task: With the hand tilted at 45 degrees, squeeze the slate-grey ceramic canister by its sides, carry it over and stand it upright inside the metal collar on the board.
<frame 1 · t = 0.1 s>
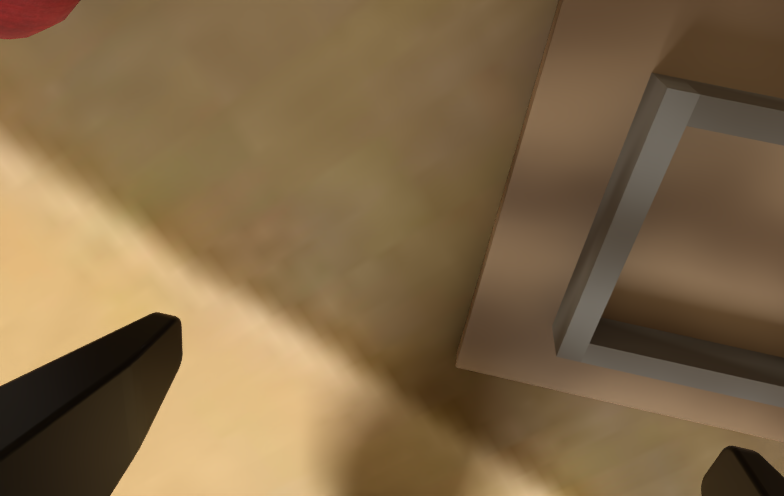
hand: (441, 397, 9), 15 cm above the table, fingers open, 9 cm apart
collar board: (730, 233, 22), on the table
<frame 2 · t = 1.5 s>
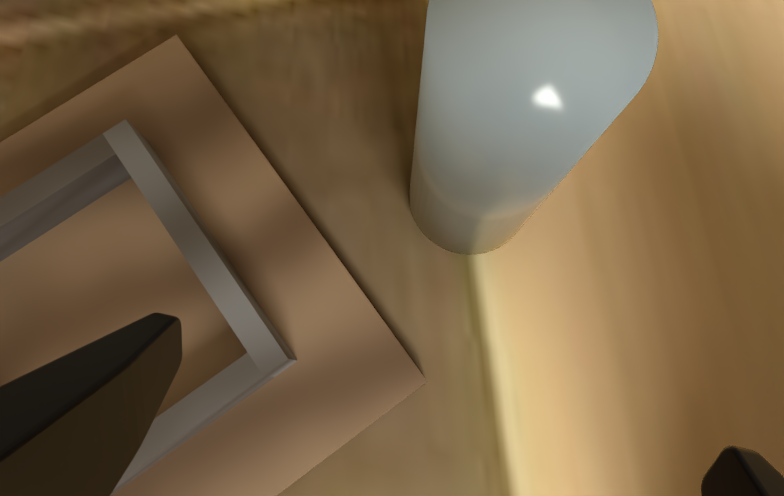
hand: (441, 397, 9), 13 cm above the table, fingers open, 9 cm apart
ceramic canister: (468, 196, 24), on the table
collar board: (109, 330, 23), on the table
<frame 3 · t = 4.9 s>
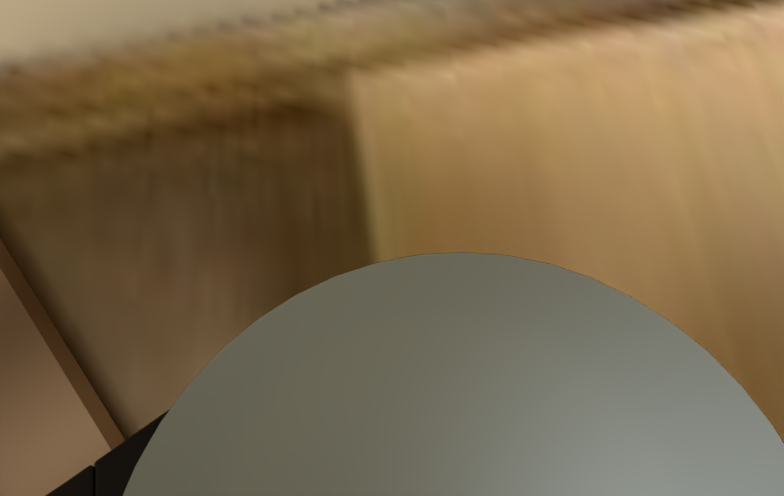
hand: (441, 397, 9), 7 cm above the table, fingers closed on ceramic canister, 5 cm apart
ceramic canister: (409, 445, 15), on the table, touching gripper
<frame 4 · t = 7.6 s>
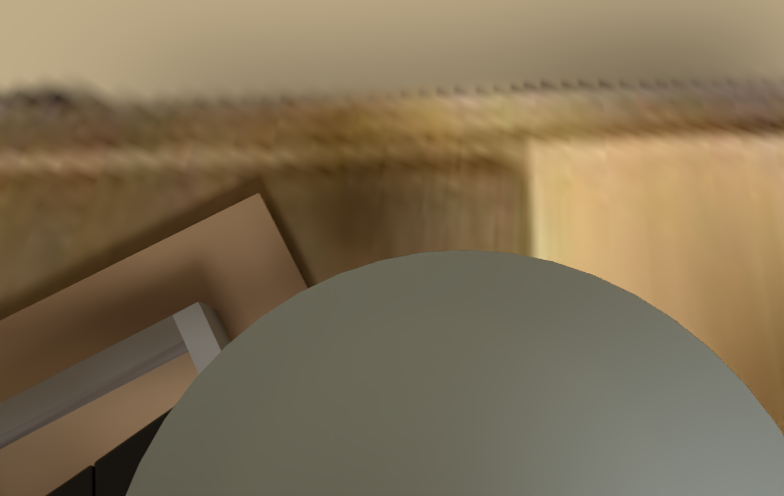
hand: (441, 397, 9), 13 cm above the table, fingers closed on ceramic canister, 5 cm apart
ceramic canister: (410, 445, 15), point 7 cm above the table, touching gripper
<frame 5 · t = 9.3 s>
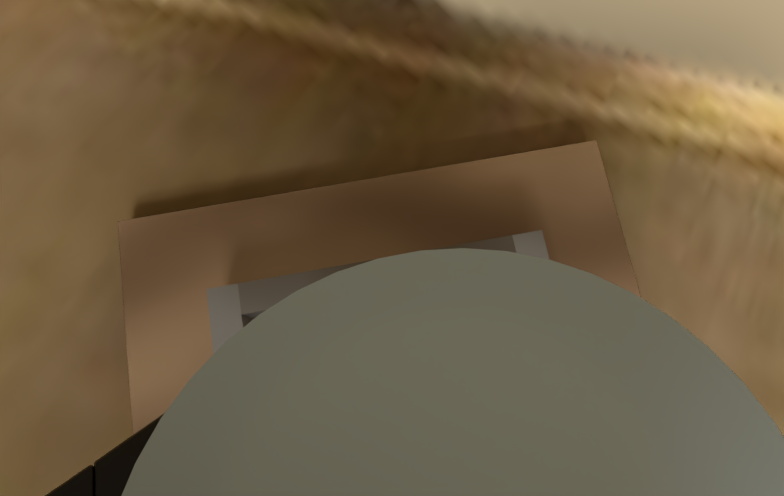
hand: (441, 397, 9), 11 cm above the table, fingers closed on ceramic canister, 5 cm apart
ceramic canister: (409, 444, 15), point 5 cm above the table, touching gripper
collar board: (405, 427, 20), on the table
when the fingers open (8 cm above the table, at t = 10.7 s): ceramic canister stays where it is, resting on collar board.
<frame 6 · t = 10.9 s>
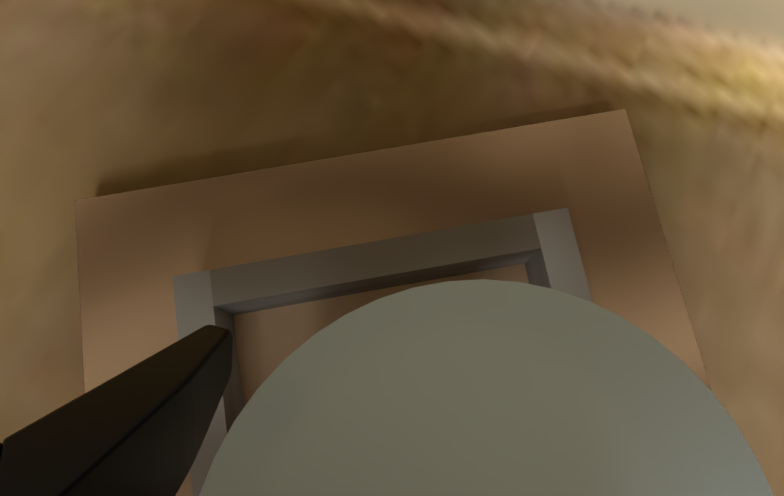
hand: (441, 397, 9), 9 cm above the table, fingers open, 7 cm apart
ceramic canister: (406, 444, 16), point 1 cm above the table, touching collar board
collar board: (406, 439, 17), on the table
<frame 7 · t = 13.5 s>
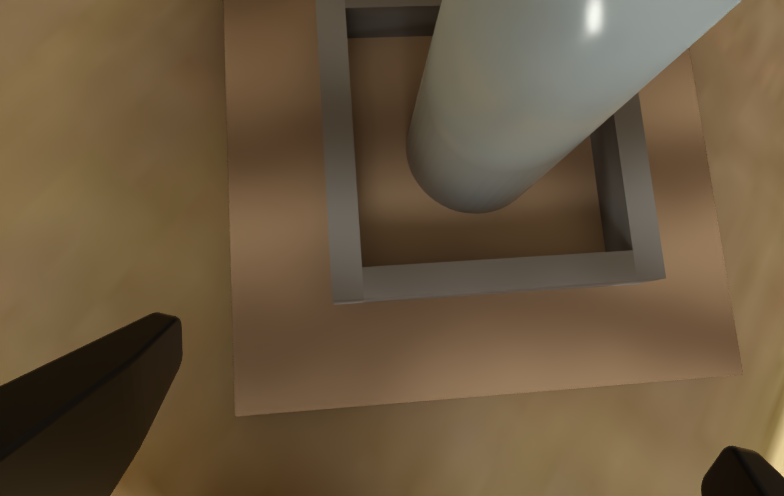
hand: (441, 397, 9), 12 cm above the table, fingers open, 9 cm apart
ceramic canister: (472, 148, 21), point 1 cm above the table, touching collar board
collar board: (468, 155, 22), on the table
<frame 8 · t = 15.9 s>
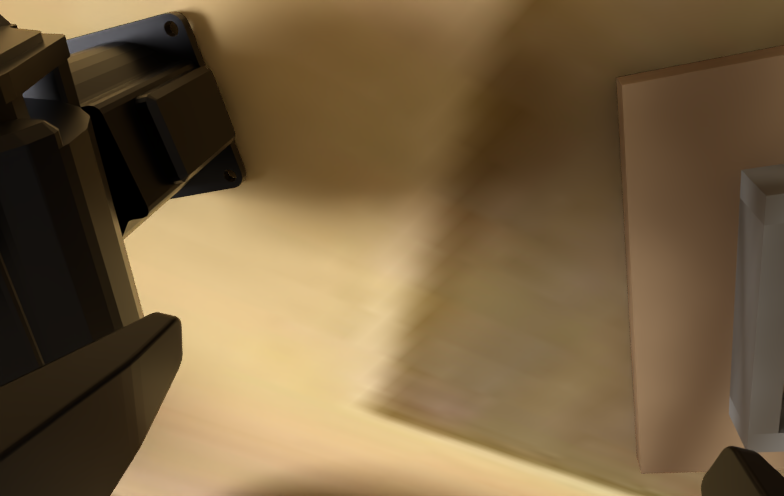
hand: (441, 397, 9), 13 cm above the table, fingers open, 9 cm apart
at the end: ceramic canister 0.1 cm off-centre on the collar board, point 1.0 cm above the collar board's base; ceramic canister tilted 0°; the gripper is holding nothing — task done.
